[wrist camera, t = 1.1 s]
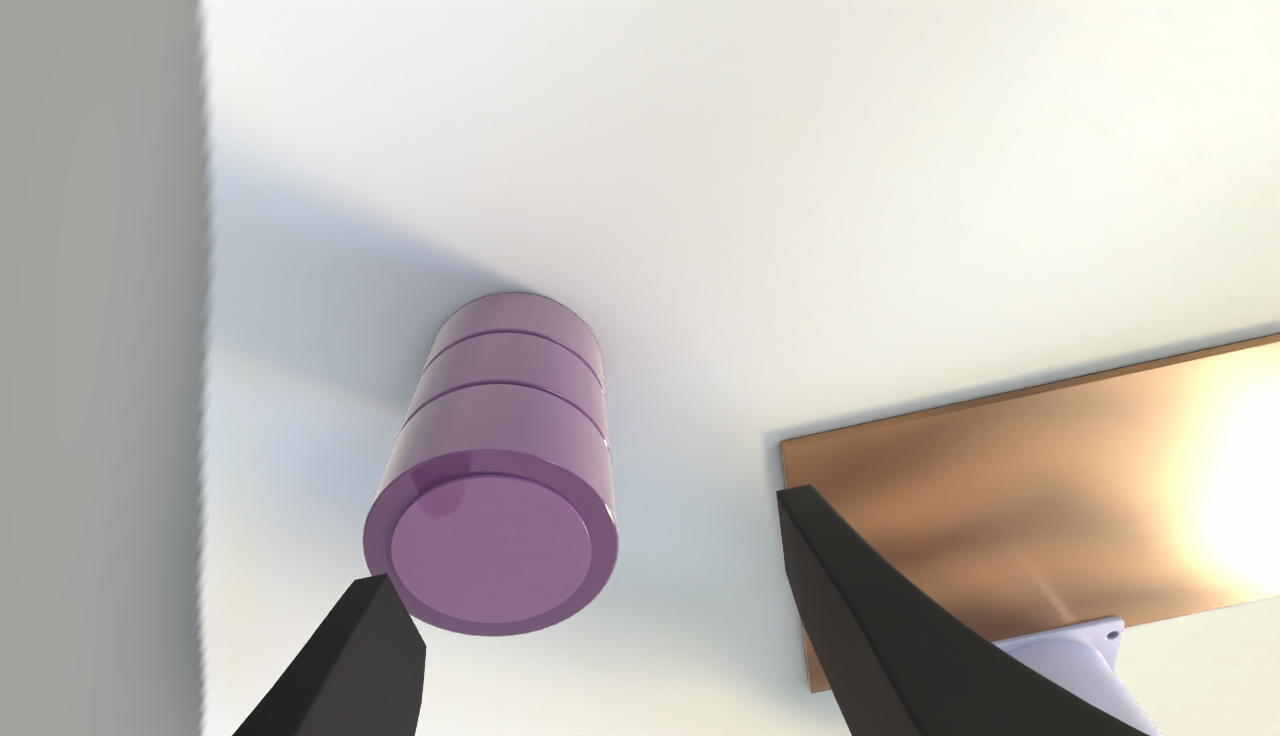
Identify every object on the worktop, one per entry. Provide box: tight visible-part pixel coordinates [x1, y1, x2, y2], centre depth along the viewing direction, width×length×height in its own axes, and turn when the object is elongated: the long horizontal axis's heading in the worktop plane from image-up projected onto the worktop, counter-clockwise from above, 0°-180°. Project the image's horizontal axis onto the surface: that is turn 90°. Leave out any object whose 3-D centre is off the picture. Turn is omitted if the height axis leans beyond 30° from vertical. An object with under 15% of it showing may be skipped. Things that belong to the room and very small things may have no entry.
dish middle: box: [397, 332, 612, 463], centre depth 18 cm, size 5×5×3 cm
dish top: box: [363, 384, 619, 637], centre depth 16 cm, size 5×5×3 cm
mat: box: [780, 334, 1280, 693], centre depth 27 cm, size 14×22×1 cm, turn 101°
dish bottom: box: [418, 292, 607, 406], centre depth 20 cm, size 5×5×3 cm
